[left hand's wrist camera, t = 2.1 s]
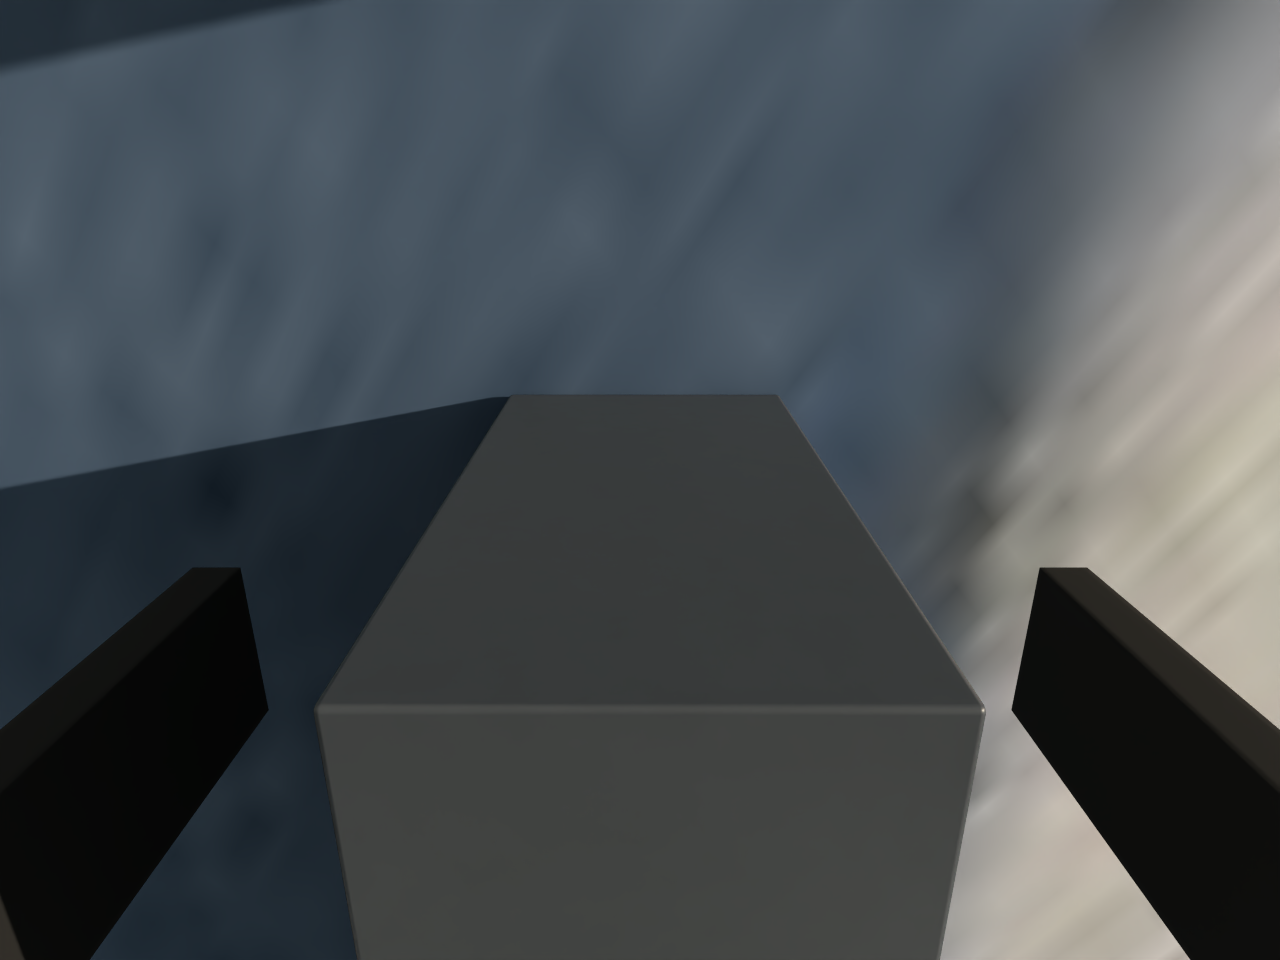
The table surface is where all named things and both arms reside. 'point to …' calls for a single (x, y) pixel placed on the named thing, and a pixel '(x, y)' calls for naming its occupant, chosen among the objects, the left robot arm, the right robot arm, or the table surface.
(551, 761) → the bar
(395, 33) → the table surface
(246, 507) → the table surface
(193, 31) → the table surface
